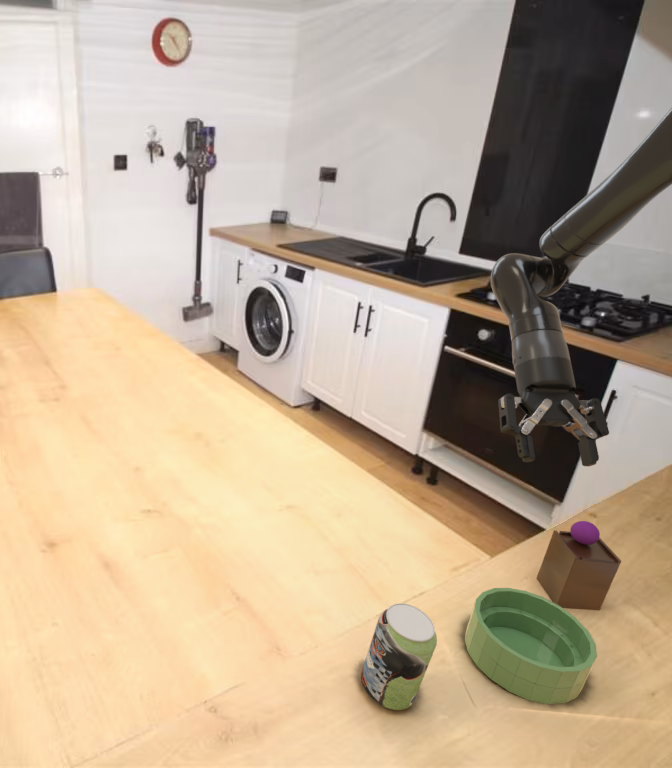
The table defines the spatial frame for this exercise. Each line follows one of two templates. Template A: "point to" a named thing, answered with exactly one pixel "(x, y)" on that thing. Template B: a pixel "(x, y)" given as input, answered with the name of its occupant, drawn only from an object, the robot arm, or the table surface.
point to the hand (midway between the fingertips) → (559, 463)
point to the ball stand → (577, 572)
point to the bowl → (530, 645)
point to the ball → (585, 532)
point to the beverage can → (398, 656)
